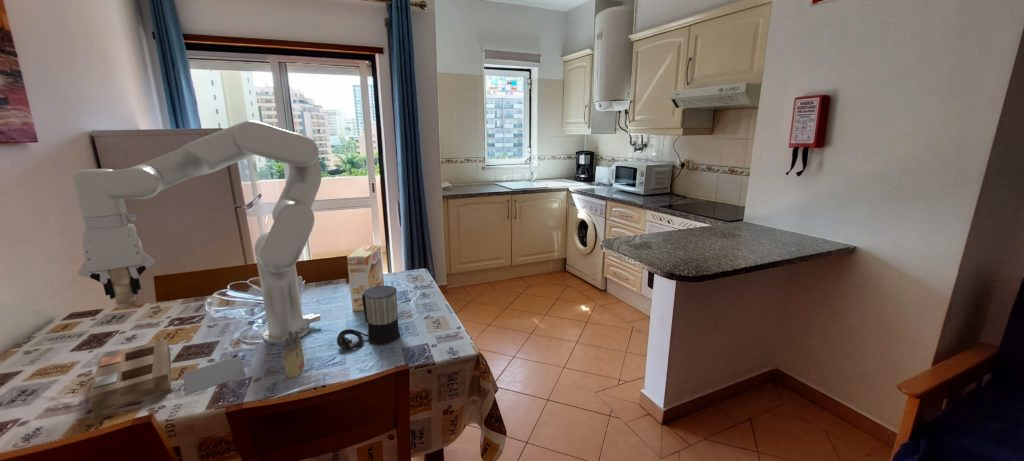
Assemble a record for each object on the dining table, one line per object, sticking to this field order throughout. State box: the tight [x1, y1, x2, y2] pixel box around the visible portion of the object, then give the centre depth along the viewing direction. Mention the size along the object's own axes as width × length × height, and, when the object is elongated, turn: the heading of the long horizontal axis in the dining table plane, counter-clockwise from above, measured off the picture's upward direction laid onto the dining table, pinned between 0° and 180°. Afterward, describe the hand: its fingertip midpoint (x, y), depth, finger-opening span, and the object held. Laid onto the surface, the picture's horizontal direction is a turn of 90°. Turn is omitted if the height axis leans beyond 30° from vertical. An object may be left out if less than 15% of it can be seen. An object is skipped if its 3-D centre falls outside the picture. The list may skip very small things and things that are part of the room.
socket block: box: [87, 338, 172, 418], centre depth 100 cm, size 13×22×5 cm, turn 39°
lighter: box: [281, 331, 305, 378], centre depth 103 cm, size 7×4×10 cm, turn 14°
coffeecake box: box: [346, 244, 385, 312], centre depth 144 cm, size 15×7×20 cm, turn 179°
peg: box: [108, 267, 138, 309], centre depth 99 cm, size 4×4×12 cm
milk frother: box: [336, 285, 401, 351], centre depth 117 cm, size 14×16×15 cm
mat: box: [183, 356, 247, 396], centre depth 103 cm, size 12×12×1 cm
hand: (124, 294), depth 100 cm, fingers closed on peg, 3 cm apart
